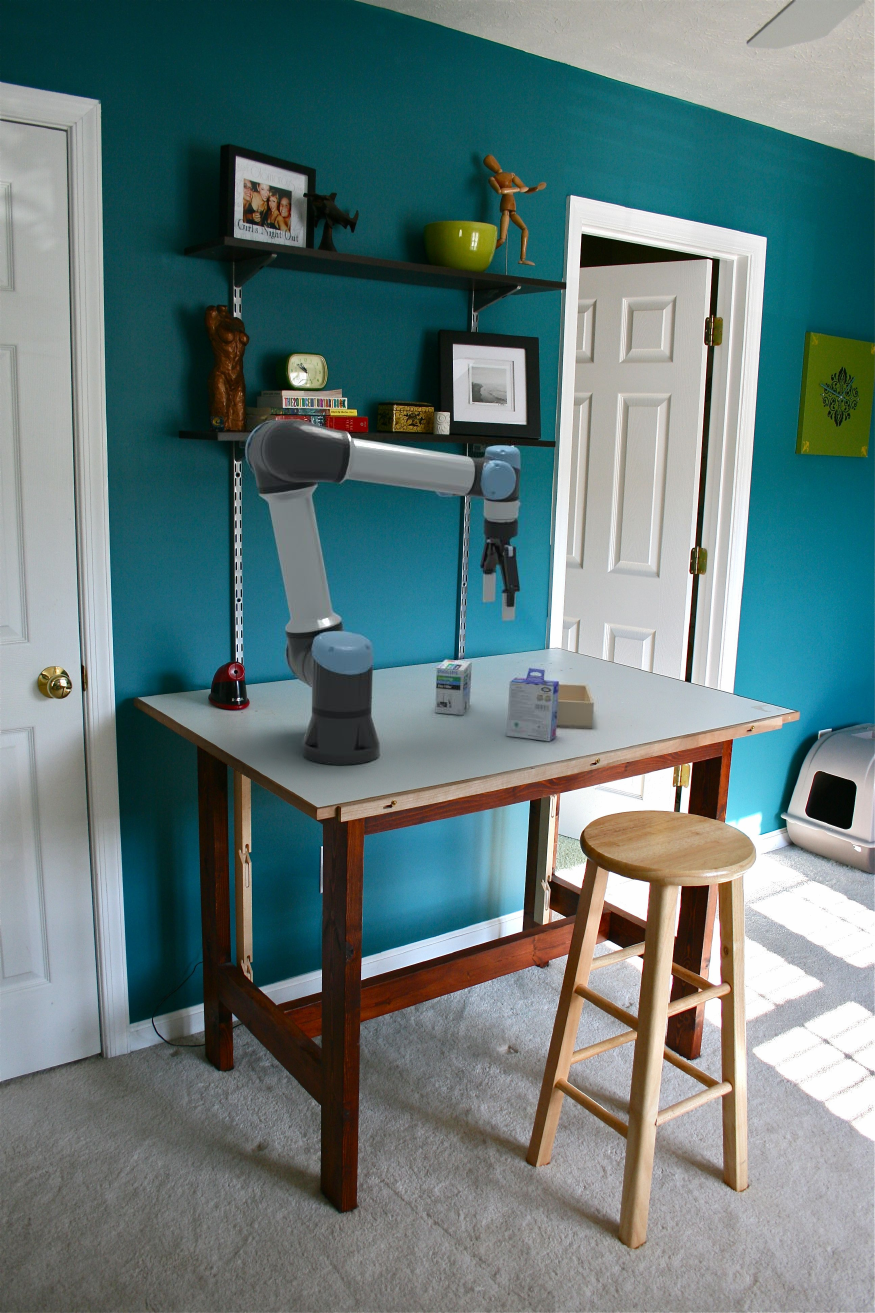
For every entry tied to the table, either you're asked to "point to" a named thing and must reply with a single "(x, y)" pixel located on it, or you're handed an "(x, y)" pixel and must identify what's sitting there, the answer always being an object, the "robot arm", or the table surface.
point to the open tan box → (574, 707)
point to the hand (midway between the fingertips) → (498, 610)
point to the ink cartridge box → (533, 707)
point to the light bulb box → (453, 687)
